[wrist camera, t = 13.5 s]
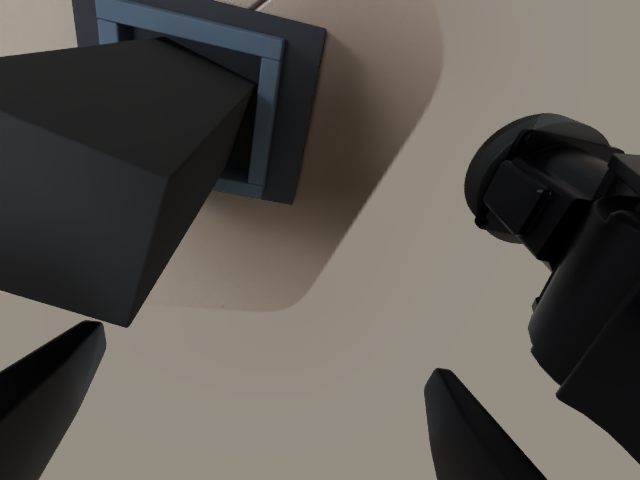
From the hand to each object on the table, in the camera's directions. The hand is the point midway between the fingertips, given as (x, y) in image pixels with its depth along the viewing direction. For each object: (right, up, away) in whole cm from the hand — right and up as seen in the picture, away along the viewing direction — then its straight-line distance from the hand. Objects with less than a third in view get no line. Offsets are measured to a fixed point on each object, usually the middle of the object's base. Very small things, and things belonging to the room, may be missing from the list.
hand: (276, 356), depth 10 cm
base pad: (-5, +10, +9) cm, 14 cm away
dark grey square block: (-5, +10, +8) cm, 14 cm away
